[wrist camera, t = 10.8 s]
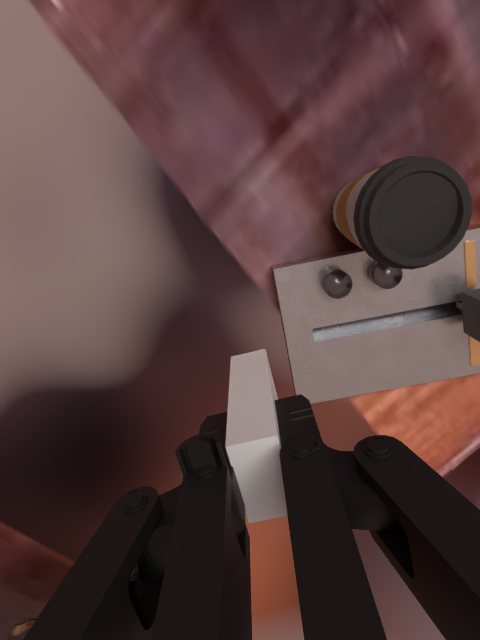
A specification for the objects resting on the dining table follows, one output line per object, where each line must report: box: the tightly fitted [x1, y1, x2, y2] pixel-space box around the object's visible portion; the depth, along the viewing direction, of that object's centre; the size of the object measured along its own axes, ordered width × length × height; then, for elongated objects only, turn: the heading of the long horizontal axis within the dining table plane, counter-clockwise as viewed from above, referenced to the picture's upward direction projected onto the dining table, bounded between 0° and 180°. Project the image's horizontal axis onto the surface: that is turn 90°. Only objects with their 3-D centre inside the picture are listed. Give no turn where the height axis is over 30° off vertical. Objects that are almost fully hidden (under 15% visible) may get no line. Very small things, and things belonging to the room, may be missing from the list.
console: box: [272, 224, 480, 404], centre depth 45 cm, size 16×28×4 cm, turn 101°
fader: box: [456, 289, 480, 342], centre depth 42 cm, size 4×3×7 cm, turn 11°
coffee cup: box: [333, 156, 472, 269], centre depth 37 cm, size 8×8×15 cm
